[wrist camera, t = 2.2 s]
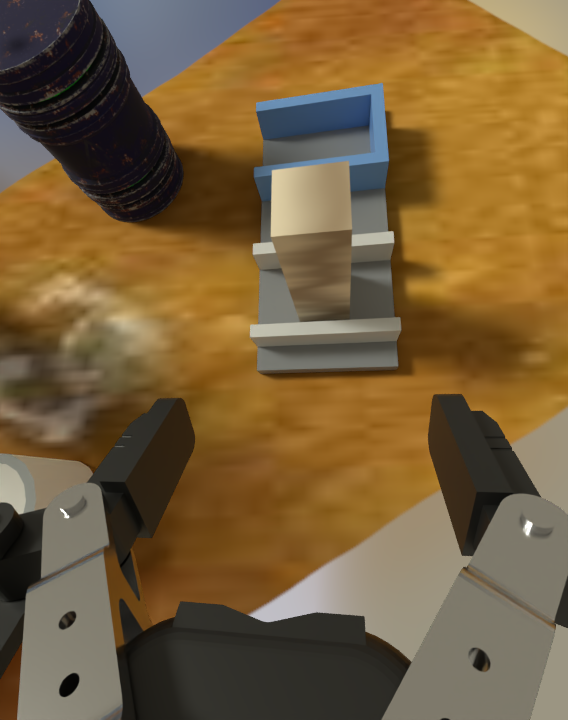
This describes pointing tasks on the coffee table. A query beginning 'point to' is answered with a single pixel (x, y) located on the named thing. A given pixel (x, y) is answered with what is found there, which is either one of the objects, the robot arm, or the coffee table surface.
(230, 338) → the coffee table surface
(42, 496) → the beige cylinder
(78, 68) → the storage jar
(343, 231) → the peg
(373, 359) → the grey slotted base
